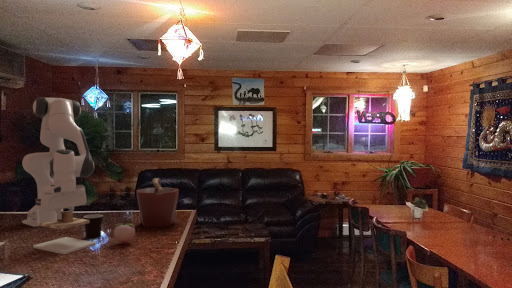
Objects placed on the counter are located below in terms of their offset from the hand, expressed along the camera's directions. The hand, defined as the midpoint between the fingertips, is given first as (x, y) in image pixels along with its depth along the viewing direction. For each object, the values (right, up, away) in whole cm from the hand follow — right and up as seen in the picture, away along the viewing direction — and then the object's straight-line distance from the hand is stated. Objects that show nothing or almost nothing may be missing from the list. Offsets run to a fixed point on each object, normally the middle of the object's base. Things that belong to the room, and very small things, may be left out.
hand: (64, 218), depth 171 cm
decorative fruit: (+25, -13, +5) cm, 28 cm away
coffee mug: (+6, -12, +17) cm, 22 cm away
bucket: (+29, -12, +44) cm, 54 cm away
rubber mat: (0, -12, 0) cm, 12 cm away
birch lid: (0, -3, 0) cm, 3 cm away
